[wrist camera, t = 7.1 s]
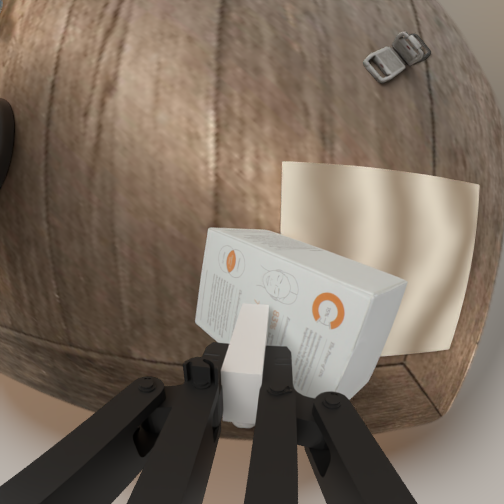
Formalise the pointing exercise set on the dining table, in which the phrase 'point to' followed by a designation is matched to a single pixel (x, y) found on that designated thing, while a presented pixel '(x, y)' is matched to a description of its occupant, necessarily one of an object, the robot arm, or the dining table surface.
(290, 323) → the small box
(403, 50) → the strap clip
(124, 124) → the dining table surface
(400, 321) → the birch board
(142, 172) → the dining table surface
